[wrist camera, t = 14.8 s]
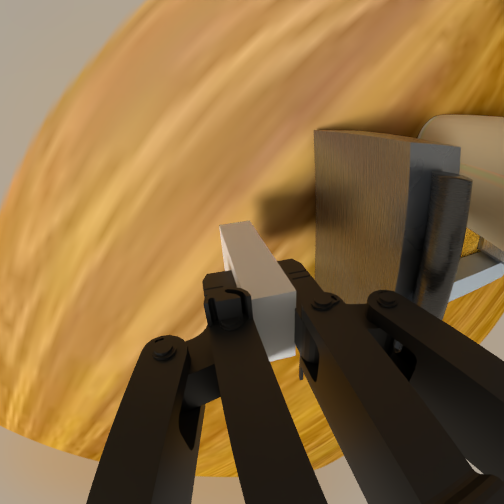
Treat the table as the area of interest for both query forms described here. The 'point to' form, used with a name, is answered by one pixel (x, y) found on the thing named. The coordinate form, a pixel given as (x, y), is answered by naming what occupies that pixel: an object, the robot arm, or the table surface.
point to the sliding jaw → (389, 216)
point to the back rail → (475, 273)
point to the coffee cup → (477, 166)
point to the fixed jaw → (491, 250)
